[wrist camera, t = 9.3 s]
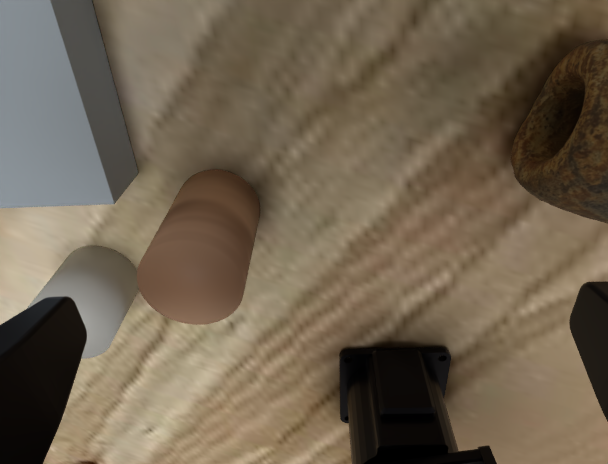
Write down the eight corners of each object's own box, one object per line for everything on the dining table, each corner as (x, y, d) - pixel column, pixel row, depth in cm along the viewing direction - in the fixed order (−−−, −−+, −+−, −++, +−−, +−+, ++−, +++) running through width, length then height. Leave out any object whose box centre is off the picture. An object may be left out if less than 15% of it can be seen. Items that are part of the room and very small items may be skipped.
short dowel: (147, 303, 25) (122, 357, 22) (78, 304, 26) (42, 359, 22) (129, 244, 23) (98, 294, 20) (54, 246, 23) (10, 297, 20)
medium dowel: (264, 240, 23) (249, 323, 18) (186, 242, 23) (150, 325, 18) (255, 168, 21) (236, 238, 16) (170, 171, 21) (124, 242, 16)
